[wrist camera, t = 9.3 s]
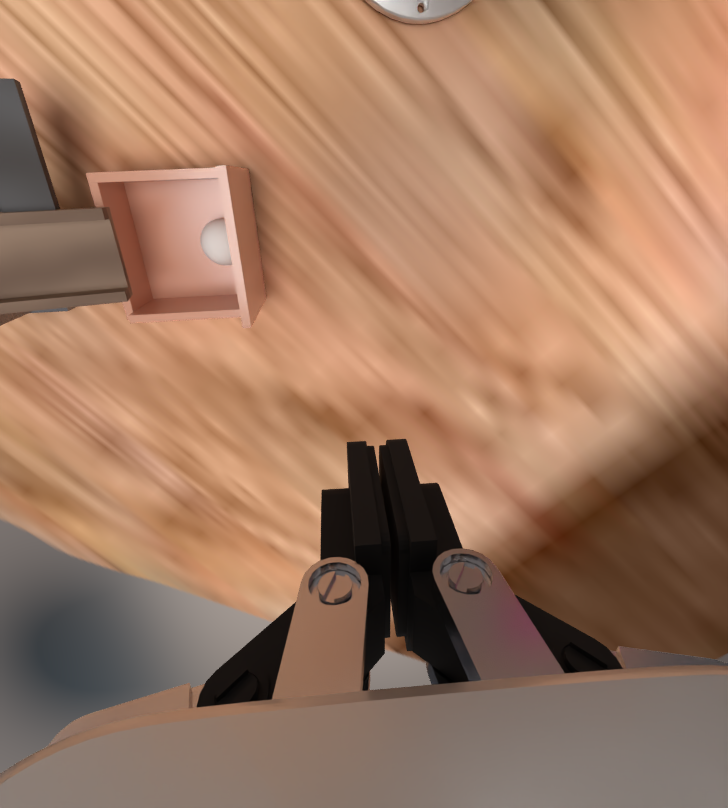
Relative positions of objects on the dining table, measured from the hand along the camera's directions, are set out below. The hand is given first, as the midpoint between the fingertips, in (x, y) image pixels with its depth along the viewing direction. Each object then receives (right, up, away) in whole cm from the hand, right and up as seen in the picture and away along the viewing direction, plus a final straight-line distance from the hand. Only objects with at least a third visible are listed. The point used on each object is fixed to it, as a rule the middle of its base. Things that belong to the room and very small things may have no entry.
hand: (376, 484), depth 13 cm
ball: (-11, +15, +23) cm, 29 cm away
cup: (-14, +16, +25) cm, 33 cm away
